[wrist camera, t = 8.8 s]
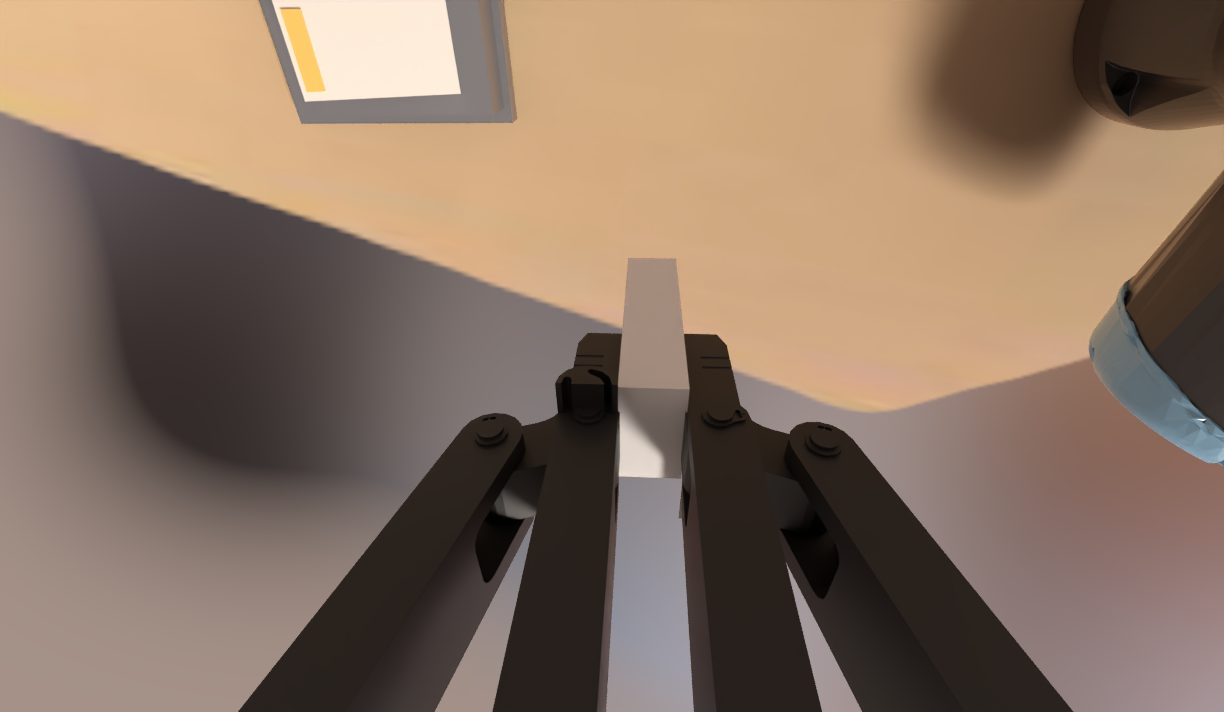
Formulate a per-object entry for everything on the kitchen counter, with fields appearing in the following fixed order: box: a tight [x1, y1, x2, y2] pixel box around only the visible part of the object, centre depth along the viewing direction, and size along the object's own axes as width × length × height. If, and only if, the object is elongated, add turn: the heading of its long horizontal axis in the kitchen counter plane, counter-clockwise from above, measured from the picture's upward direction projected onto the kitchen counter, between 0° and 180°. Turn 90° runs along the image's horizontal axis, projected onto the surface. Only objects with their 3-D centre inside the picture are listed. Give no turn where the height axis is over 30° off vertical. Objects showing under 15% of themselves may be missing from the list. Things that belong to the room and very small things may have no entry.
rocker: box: [272, 0, 461, 102], centre depth 30 cm, size 9×5×2 cm, turn 91°
